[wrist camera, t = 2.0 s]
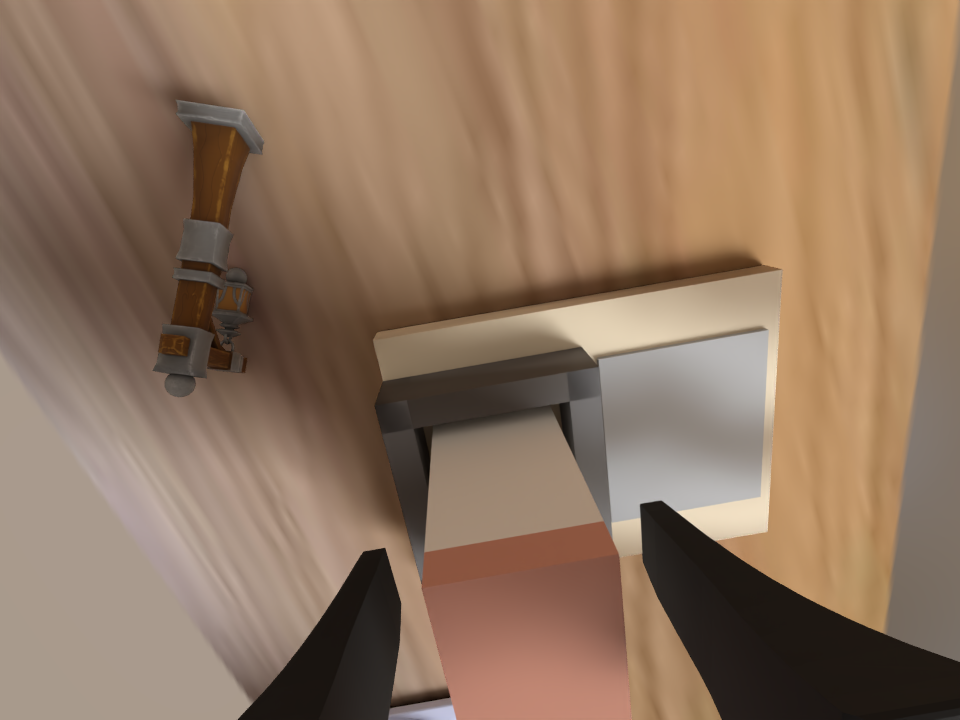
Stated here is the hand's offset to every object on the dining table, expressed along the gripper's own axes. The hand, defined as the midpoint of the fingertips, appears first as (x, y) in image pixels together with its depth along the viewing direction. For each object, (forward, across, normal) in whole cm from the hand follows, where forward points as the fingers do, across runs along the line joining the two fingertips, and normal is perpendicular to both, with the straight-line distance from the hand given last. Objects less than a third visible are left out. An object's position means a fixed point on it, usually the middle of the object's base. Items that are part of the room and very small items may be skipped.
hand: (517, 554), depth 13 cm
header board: (+6, -4, 0) cm, 7 cm away
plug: (+5, 0, 0) cm, 5 cm away
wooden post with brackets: (+6, +7, -9) cm, 13 cm away
